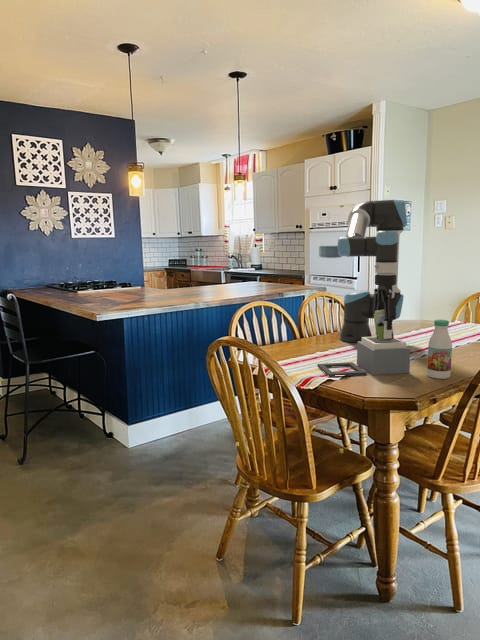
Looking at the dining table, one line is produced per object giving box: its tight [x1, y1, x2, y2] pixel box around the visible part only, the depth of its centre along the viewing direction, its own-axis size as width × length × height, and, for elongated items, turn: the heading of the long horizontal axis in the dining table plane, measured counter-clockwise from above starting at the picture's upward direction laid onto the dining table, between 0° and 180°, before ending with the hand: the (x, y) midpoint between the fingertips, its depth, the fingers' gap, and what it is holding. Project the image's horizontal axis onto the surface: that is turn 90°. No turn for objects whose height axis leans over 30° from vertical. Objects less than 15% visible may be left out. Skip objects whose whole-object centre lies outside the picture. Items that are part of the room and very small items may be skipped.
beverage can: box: [374, 309, 394, 342], centre depth 174 cm, size 6×7×12 cm
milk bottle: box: [426, 319, 453, 380], centre depth 164 cm, size 8×8×20 cm
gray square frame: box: [316, 361, 368, 377], centre depth 175 cm, size 14×14×1 cm
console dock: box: [356, 336, 412, 376], centre depth 176 cm, size 15×14×11 cm
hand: (383, 336), depth 175 cm, fingers closed on beverage can, 6 cm apart
